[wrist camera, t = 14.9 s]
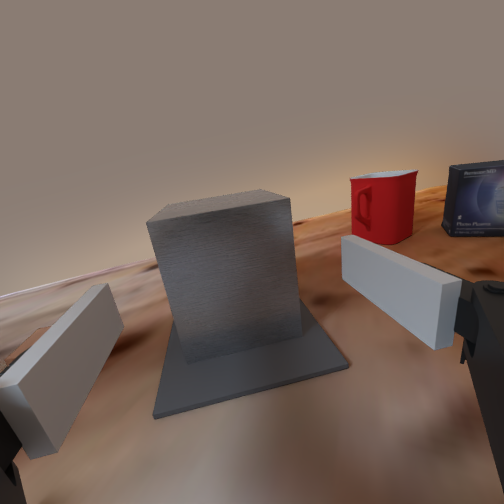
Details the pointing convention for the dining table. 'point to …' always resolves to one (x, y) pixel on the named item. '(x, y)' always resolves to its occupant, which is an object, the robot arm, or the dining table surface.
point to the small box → (475, 200)
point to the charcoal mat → (244, 369)
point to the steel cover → (229, 272)
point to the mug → (383, 206)
